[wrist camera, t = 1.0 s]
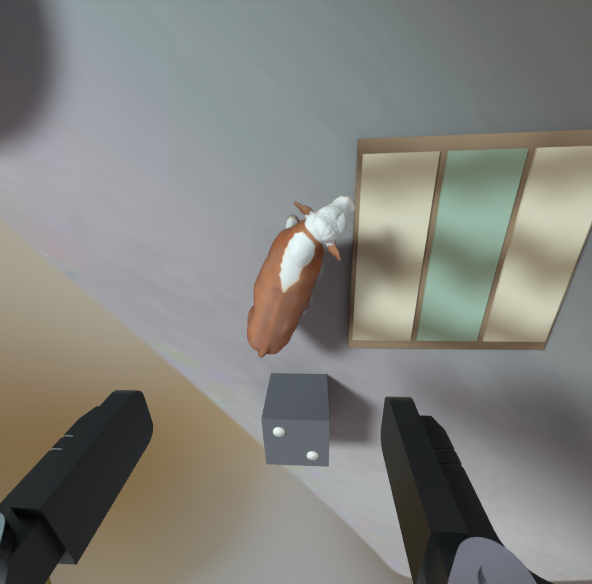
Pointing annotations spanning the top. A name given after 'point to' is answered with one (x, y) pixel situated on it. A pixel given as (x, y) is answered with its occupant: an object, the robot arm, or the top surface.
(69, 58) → the top surface
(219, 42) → the top surface
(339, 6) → the top surface
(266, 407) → the die
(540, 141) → the paneled room divider
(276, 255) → the bull figurine
